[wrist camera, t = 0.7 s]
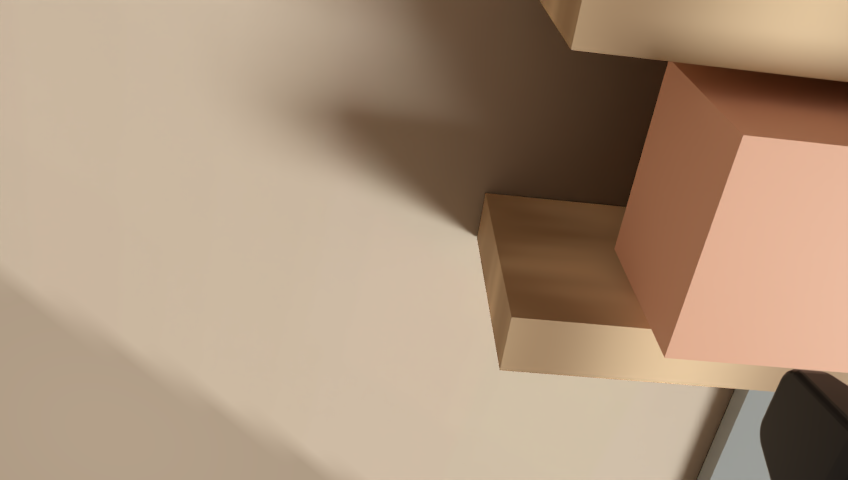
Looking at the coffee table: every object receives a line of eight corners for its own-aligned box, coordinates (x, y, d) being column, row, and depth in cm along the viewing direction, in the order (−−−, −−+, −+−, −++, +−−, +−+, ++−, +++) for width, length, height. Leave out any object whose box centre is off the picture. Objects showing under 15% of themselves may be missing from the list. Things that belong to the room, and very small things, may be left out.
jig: (1148, -7, 17) (1409, 67, 12) (979, 285, 20) (1135, 420, 16) (537, -87, 16) (589, -36, 11) (477, 237, 19) (499, 369, 15)
